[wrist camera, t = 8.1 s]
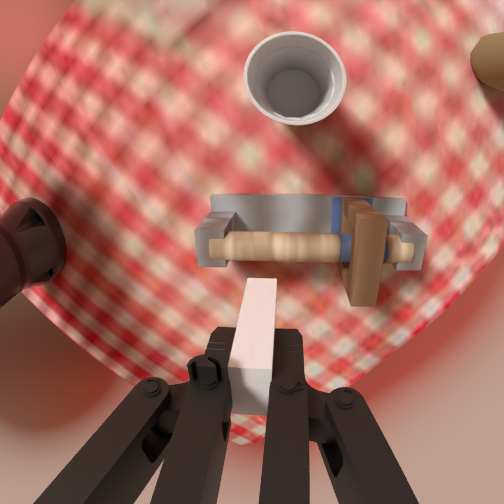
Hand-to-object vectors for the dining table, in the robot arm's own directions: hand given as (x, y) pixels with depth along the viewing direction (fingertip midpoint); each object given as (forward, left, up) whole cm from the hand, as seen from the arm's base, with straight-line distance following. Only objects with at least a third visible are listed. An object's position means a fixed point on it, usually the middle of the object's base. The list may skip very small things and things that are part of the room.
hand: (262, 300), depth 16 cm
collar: (+9, -3, -21) cm, 23 cm away
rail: (+4, -3, -22) cm, 23 cm away
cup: (+2, +13, -22) cm, 26 cm away
